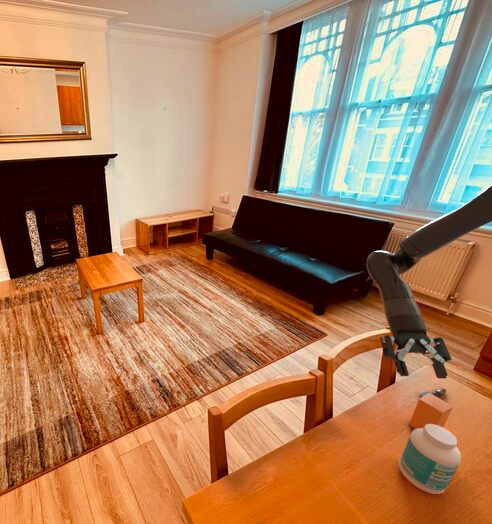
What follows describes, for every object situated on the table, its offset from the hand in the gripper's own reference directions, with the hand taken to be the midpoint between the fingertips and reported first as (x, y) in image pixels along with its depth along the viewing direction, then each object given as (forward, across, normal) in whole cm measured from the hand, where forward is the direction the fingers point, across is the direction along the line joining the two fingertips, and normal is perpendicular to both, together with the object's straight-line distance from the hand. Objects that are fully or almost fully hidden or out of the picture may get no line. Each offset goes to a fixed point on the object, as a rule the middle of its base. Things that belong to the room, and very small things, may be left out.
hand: (423, 377), depth 71 cm
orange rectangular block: (+12, 0, +5) cm, 13 cm away
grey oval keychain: (+4, +10, +13) cm, 17 cm away
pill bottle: (+21, -10, -4) cm, 24 cm away
